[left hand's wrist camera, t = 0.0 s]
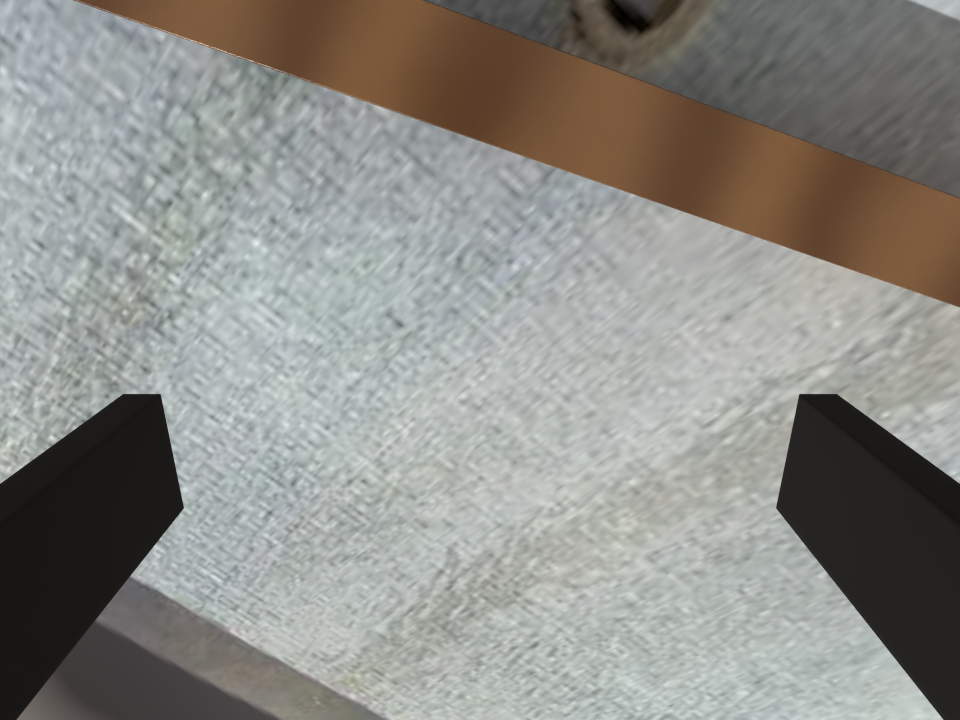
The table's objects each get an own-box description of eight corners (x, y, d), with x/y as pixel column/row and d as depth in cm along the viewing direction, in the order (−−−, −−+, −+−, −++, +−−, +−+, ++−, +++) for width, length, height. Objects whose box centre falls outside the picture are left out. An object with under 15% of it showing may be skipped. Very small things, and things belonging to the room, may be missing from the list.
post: (67, -4, 34) (-36, -38, 27) (75, -105, 32) (-34, -169, 26) (1087, 350, 42) (1207, 392, 35) (1136, 282, 40) (1272, 313, 33)
